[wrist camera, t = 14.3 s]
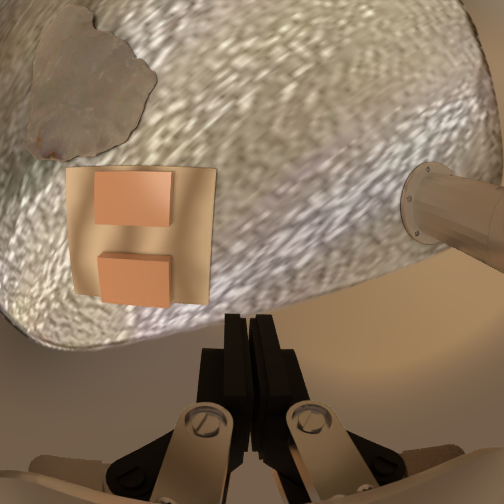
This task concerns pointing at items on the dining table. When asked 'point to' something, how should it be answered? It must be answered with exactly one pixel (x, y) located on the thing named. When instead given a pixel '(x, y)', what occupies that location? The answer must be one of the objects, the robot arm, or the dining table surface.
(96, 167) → the board
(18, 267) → the dining table surface
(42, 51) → the stone tool
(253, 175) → the dining table surface
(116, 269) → the tile
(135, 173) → the tile
